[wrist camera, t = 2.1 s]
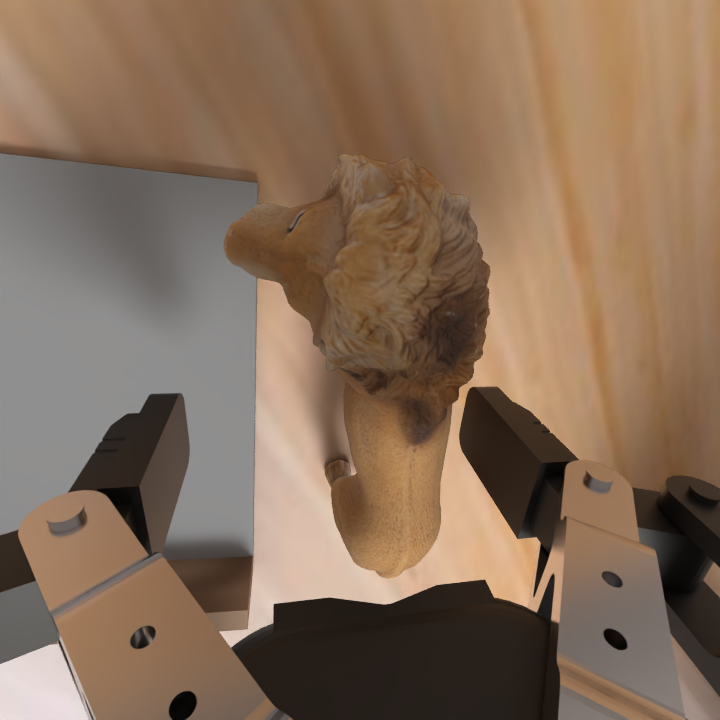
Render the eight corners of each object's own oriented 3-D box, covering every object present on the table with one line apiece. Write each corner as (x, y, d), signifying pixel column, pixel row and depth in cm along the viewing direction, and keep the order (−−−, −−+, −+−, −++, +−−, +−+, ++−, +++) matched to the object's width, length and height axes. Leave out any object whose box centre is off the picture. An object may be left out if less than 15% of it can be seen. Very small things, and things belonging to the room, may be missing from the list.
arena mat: (258, 182, 13) (257, 183, 13) (253, 549, 20) (252, 556, 19) (-361, 110, 10) (-384, 108, 10) (-129, 565, 17) (-138, 574, 16)
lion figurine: (241, 173, 13) (164, 187, 5) (406, 142, 13) (583, 108, 5) (333, 512, 20) (364, 756, 11) (442, 485, 20) (547, 704, 12)
